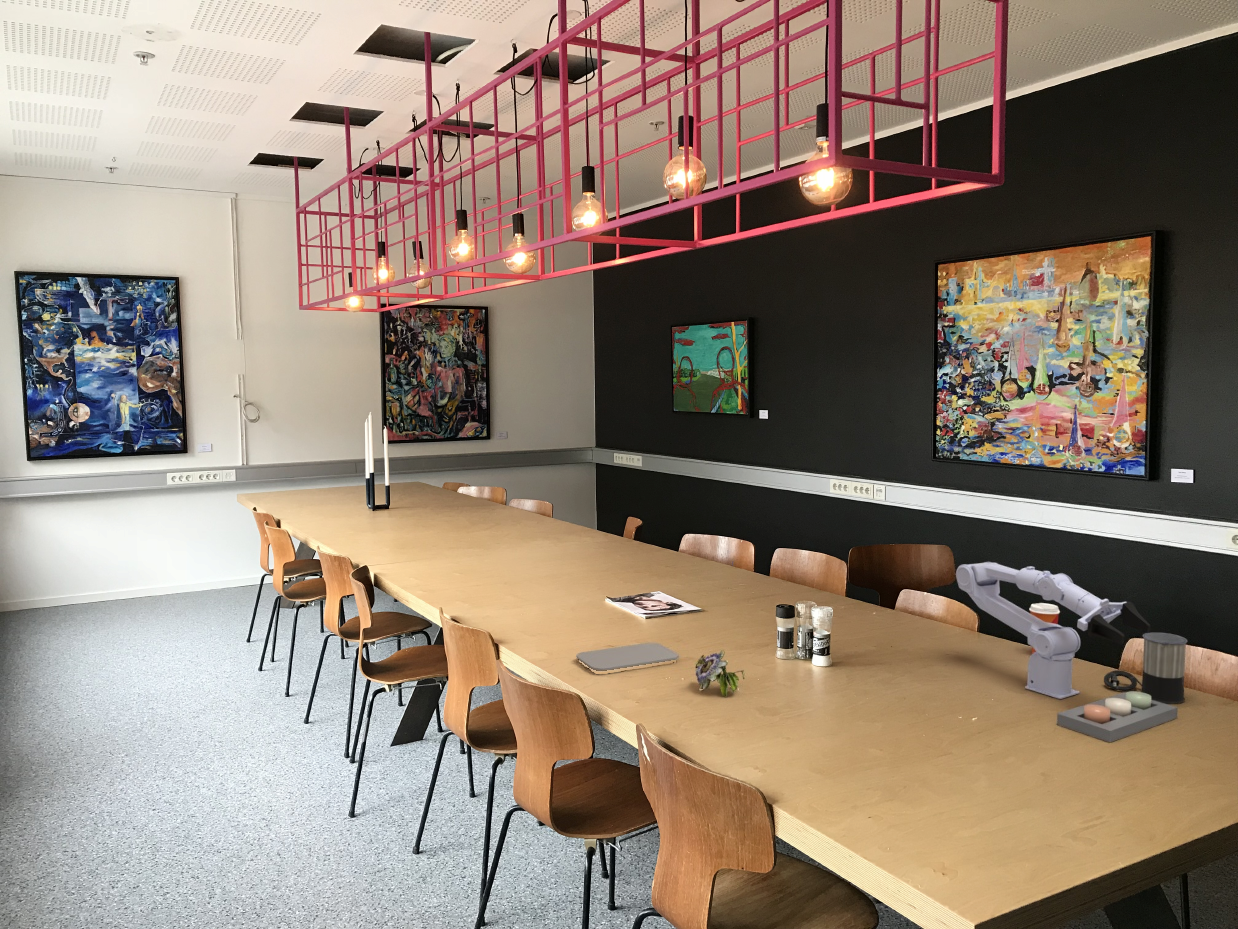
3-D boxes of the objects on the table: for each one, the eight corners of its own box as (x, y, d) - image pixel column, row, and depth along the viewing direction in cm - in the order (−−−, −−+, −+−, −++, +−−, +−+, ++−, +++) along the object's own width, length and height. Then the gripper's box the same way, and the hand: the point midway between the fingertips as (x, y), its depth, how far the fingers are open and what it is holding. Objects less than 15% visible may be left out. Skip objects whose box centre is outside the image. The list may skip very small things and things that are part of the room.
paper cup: (1021, 653, 252) (1023, 604, 251) (1042, 650, 254) (1044, 601, 253) (1043, 661, 244) (1045, 610, 243) (1065, 657, 247) (1066, 607, 246)
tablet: (683, 664, 246) (682, 656, 246) (596, 678, 235) (596, 669, 235) (655, 649, 261) (655, 641, 261) (572, 661, 250) (572, 653, 250)
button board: (1056, 724, 199) (1057, 713, 199) (1124, 702, 212) (1124, 692, 212) (1110, 742, 188) (1110, 731, 188) (1177, 718, 202) (1177, 707, 202)
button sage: (1120, 705, 205) (1121, 694, 205) (1133, 701, 208) (1133, 690, 207) (1142, 712, 201) (1143, 700, 201) (1155, 708, 203) (1155, 696, 203)
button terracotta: (1078, 719, 197) (1079, 707, 197) (1092, 715, 199) (1092, 703, 199) (1101, 727, 193) (1101, 714, 192) (1114, 722, 195) (1115, 709, 195)
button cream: (1100, 712, 201) (1100, 700, 201) (1113, 708, 204) (1113, 696, 203) (1122, 719, 197) (1122, 707, 196) (1135, 715, 199) (1135, 702, 199)
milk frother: (1191, 706, 209) (1194, 643, 208) (1118, 702, 213) (1120, 640, 211) (1167, 686, 223) (1170, 627, 222) (1098, 682, 226) (1100, 625, 225)
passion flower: (702, 711, 224) (683, 667, 229) (740, 697, 228) (720, 654, 233) (715, 699, 215) (695, 653, 220) (754, 685, 219) (734, 639, 224)
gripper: (1063, 599, 207) (1113, 629, 195) (1111, 581, 211) (1163, 609, 199) (1060, 624, 209) (1109, 655, 198) (1107, 606, 214) (1158, 636, 202)
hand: (1136, 634), depth 199 cm, fingers open, 7 cm apart
